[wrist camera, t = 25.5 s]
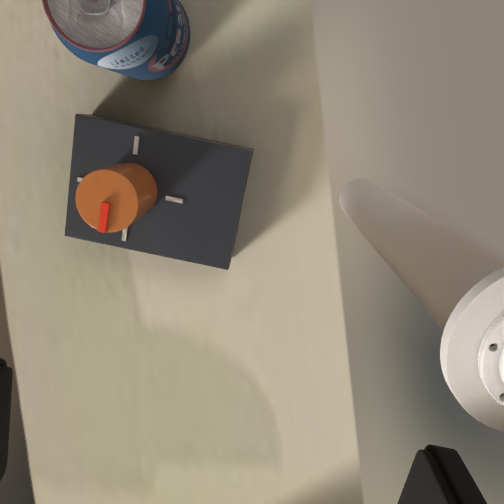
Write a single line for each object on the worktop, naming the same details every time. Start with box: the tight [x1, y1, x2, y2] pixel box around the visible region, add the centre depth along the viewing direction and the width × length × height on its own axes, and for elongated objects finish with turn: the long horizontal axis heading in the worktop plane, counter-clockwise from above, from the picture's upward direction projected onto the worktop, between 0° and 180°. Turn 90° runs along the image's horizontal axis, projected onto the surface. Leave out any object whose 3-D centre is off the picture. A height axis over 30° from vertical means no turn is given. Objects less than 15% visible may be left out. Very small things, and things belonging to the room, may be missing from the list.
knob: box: [76, 163, 157, 233], centre depth 33 cm, size 4×4×6 cm
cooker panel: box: [65, 114, 253, 270], centre depth 37 cm, size 14×10×3 cm
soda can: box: [42, 0, 190, 81], centre depth 30 cm, size 7×7×12 cm
